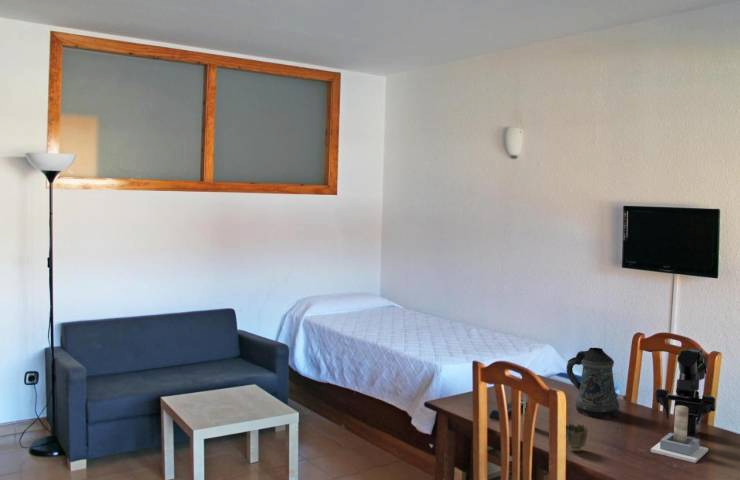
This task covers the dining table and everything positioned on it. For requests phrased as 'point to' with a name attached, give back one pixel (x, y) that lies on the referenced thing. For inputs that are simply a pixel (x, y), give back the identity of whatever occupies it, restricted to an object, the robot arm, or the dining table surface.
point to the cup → (576, 436)
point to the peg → (681, 424)
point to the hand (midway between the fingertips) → (682, 421)
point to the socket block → (680, 448)
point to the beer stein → (594, 384)
